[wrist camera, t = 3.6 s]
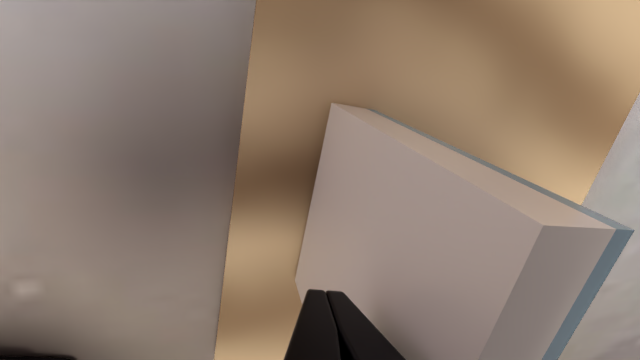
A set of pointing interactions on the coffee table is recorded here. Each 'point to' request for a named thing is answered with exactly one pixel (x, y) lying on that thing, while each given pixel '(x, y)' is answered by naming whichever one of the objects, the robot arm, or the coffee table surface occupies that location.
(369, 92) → the board
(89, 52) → the coffee table surface
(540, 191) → the tile
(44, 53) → the coffee table surface
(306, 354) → the robot arm
